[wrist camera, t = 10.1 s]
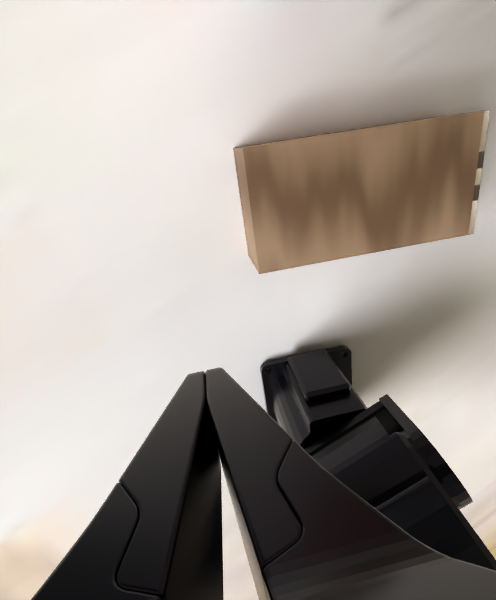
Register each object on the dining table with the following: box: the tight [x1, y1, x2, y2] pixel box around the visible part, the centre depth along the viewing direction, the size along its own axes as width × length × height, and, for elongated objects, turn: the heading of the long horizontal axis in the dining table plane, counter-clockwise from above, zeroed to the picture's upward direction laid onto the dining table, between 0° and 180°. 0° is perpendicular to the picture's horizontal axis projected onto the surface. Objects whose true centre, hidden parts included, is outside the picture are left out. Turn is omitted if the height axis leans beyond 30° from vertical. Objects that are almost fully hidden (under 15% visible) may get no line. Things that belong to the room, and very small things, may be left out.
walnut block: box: [233, 110, 490, 274], centre depth 19 cm, size 6×4×12 cm
